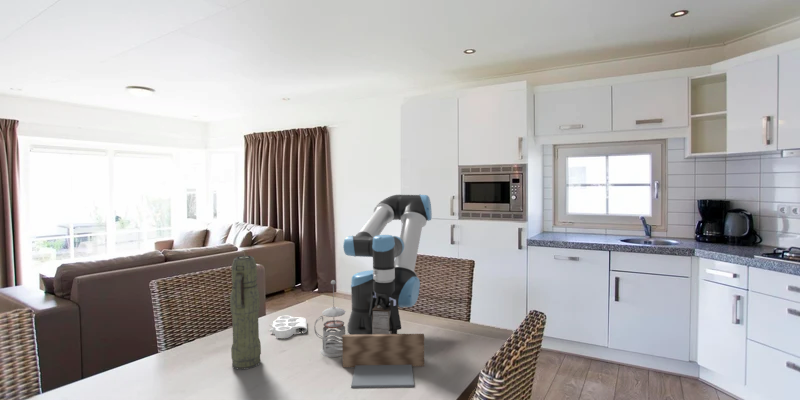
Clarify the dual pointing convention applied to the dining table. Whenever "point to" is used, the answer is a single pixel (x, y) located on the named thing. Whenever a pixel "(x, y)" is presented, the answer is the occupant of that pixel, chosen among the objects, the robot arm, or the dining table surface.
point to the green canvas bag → (245, 313)
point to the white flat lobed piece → (288, 326)
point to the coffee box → (380, 320)
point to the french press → (332, 346)
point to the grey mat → (382, 376)
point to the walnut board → (383, 349)
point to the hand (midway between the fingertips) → (384, 343)
